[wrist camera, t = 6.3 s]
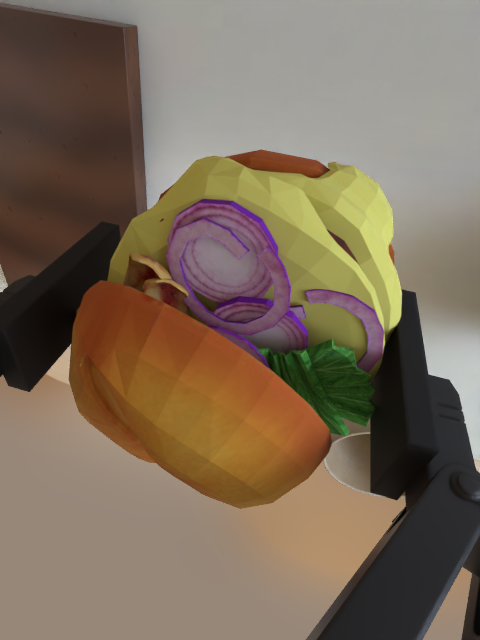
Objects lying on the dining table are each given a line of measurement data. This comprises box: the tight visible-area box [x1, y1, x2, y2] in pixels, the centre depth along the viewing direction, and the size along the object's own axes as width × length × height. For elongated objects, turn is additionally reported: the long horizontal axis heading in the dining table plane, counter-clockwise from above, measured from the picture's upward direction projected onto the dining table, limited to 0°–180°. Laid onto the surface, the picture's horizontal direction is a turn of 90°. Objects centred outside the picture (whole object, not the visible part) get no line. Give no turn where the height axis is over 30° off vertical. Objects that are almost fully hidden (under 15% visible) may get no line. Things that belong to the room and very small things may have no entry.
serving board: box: [0, 3, 147, 286], centre depth 32 cm, size 24×15×2 cm, turn 174°
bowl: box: [323, 418, 405, 498], centre depth 37 cm, size 10×10×7 cm
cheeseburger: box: [69, 150, 402, 509], centre depth 13 cm, size 10×11×10 cm
